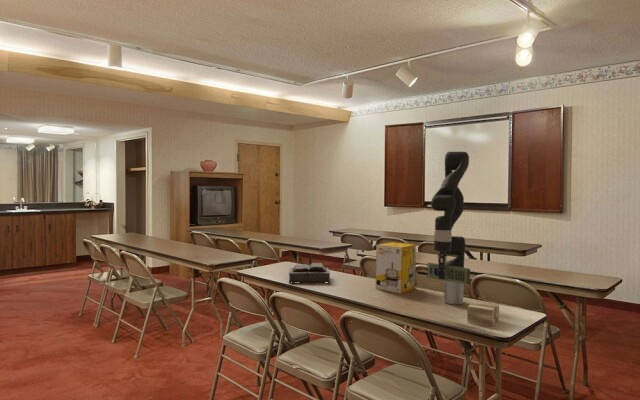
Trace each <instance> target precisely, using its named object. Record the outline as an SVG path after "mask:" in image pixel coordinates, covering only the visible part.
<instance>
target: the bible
mask: <svg viewBox="0 0 640 400" xmlns="http://www.w3.org/2000/svg"><path fill="white" fill-rule="evenodd" d="M330 275H331V273H330V268H329V267H325V266H324V264H323V263H322V262H312V263H311V264H306V263H304V264H295V265H294V266H293V267H290V268H289V272H288V276H289V279H288V284H295V283H294V282H300V283H299V284H305V283H310V284H311V283H313V284H314V283H315V284H316V283H325V282H328V283H329V284H330V278H331V277H330ZM291 282H292V283H291ZM328 283H327V284H328Z"/></svg>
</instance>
